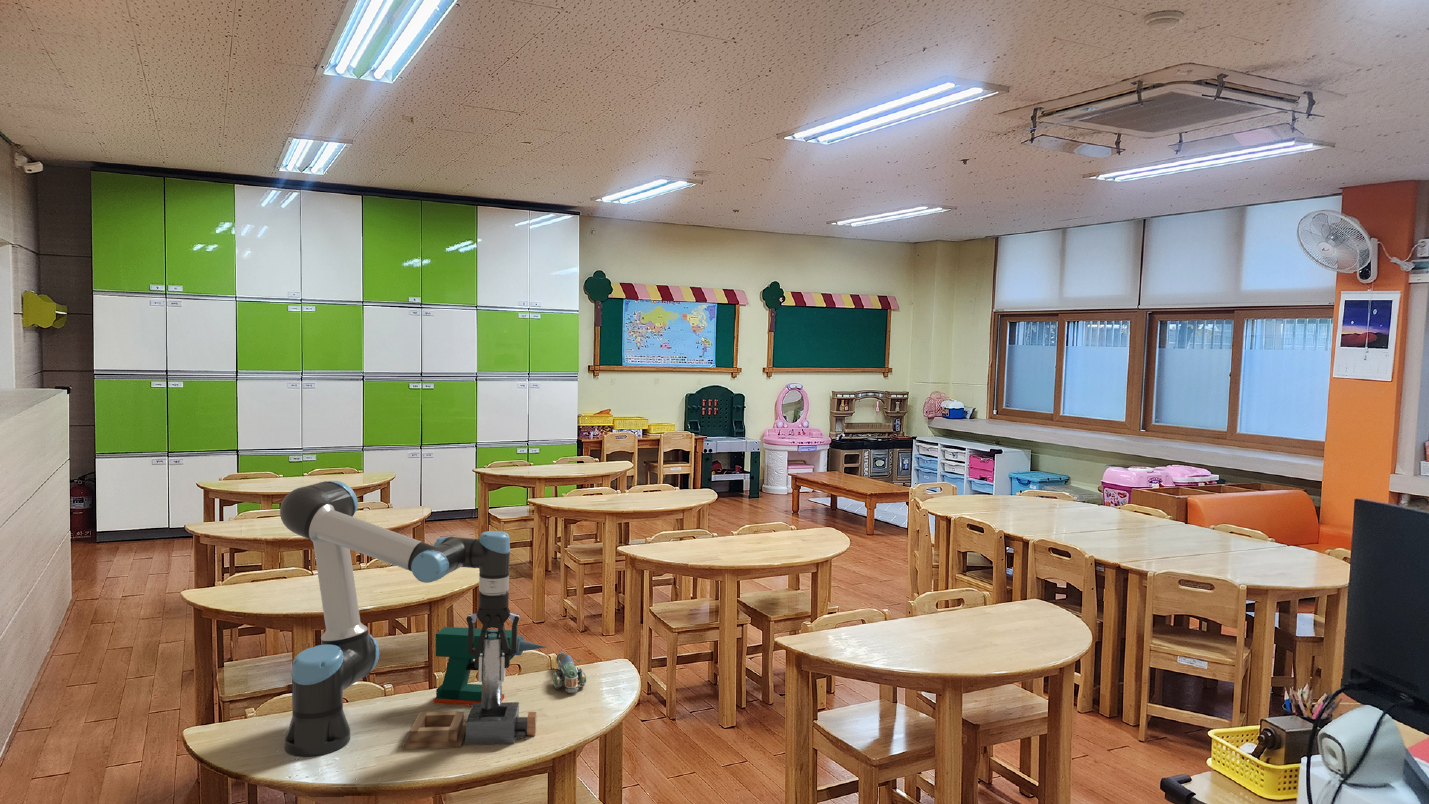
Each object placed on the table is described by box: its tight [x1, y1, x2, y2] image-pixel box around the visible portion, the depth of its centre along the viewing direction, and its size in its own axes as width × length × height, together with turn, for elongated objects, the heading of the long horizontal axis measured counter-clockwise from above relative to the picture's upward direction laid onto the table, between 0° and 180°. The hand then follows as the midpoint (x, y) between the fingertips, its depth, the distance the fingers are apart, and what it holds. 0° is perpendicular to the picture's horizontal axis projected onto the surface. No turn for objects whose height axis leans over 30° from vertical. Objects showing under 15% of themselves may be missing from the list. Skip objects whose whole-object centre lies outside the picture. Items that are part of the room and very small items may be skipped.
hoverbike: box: [552, 648, 587, 696], centre depth 266 cm, size 10×25×8 cm, turn 18°
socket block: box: [465, 701, 526, 746], centre depth 227 cm, size 14×12×6 cm
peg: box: [481, 628, 503, 709], centre depth 226 cm, size 5×5×20 cm
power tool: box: [433, 626, 547, 706], centre depth 248 cm, size 32×7×20 cm, turn 84°
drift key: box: [516, 711, 537, 736], centre depth 228 cm, size 8×4×5 cm, turn 97°
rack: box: [402, 710, 467, 750], centre depth 226 cm, size 14×14×4 cm
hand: (491, 679), depth 227 cm, fingers closed on peg, 5 cm apart
